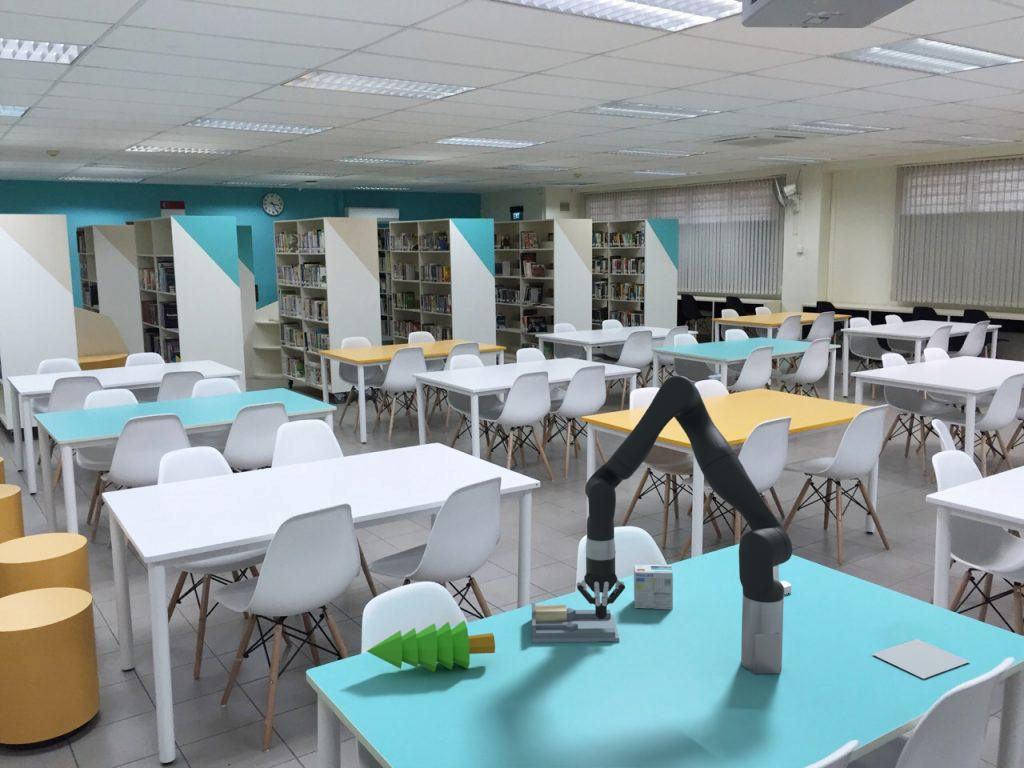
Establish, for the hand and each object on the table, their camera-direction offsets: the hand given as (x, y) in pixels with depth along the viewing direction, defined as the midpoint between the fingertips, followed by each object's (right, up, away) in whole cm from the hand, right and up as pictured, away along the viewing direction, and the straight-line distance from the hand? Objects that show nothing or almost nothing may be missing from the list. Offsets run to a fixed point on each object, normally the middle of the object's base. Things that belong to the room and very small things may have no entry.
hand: (600, 618), depth 217 cm
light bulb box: (+16, -1, +16) cm, 23 cm away
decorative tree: (-42, -7, -18) cm, 46 cm away
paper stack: (+76, -4, -12) cm, 77 cm away
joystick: (+51, +1, +25) cm, 57 cm away
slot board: (-7, -3, +1) cm, 8 cm away
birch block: (-13, -2, +1) cm, 13 cm away
